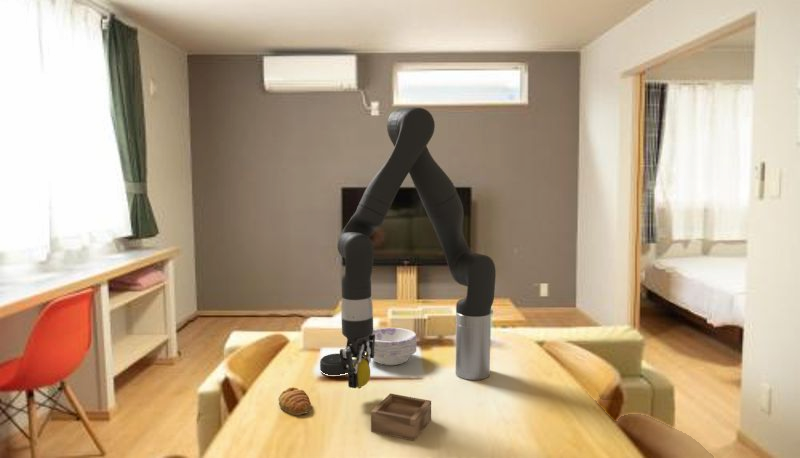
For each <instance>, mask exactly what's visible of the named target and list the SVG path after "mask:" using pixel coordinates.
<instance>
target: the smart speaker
mask: <svg viewBox="0 0 800 458" xmlns="http://www.w3.org/2000/svg"><path fill="white" fill-rule="evenodd" d="M319 361H320V362H319V367H320V369H319V370H321V371H322V372H323V373H325V374H328V375H340V374H345V373H344V372H342V366H341V359H340V353H330V354H327V355H324V356H323V357H321V358H320V359H319ZM346 367H347V365H346ZM321 371H320V372H321ZM322 372H321V373H322ZM323 373H322V374H323Z"/></svg>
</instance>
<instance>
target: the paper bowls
mask: <svg viewBox="0 0 800 458" xmlns="http://www.w3.org/2000/svg"><path fill="white" fill-rule="evenodd" d="M373 334H375V347H374V358H371V360H373V361H374V362H375V361H376V362H378V363H377V364H379V363H381V364H380V365H382V364H385V365H384V366H397V365H398V364H399V365H402V364H404V362H405V363H406V362H408V360H409V359H410V356H412V355H414V354H415V353H416V352H417V340H418V339H417V333H416V332H415V331H413V330H411V329H408V328H402V327H383V328H381V327H380V328H375V329H374V328H373ZM370 351H371V349H370ZM376 362H375V363H376Z"/></svg>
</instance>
